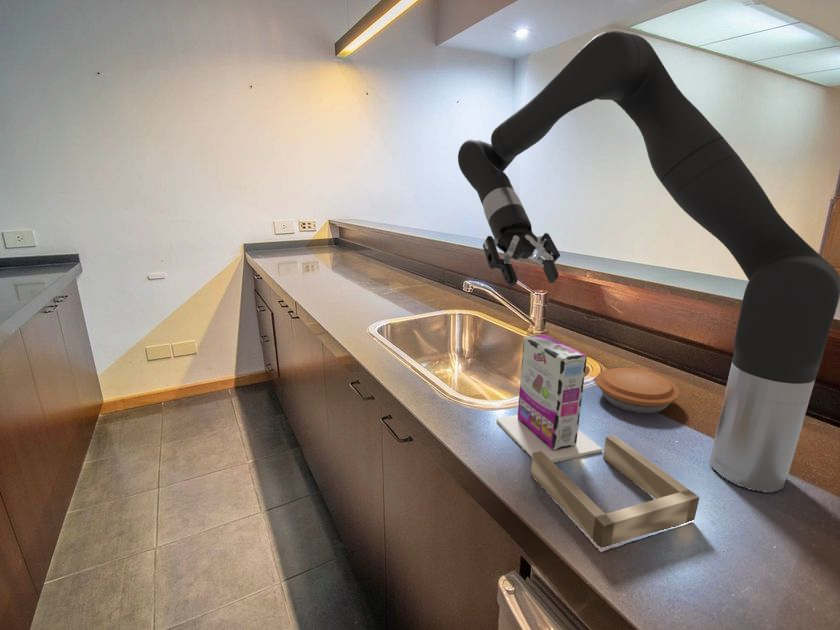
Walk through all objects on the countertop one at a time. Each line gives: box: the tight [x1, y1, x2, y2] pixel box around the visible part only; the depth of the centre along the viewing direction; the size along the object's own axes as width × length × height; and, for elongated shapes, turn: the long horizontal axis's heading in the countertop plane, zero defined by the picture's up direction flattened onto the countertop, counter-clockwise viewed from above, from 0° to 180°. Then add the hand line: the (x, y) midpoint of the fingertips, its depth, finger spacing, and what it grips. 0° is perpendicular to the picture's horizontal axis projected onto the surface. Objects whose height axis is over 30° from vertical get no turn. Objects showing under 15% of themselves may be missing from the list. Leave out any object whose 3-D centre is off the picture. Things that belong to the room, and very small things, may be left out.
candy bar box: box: [517, 334, 588, 450], centre depth 72 cm, size 11×5×16 cm, turn 20°
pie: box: [594, 367, 681, 415], centre depth 86 cm, size 15×16×5 cm
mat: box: [496, 414, 603, 464], centre depth 74 cm, size 12×14×1 cm
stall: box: [530, 434, 700, 548], centre depth 59 cm, size 15×15×4 cm
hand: (534, 282), depth 78 cm, fingers open, 8 cm apart
